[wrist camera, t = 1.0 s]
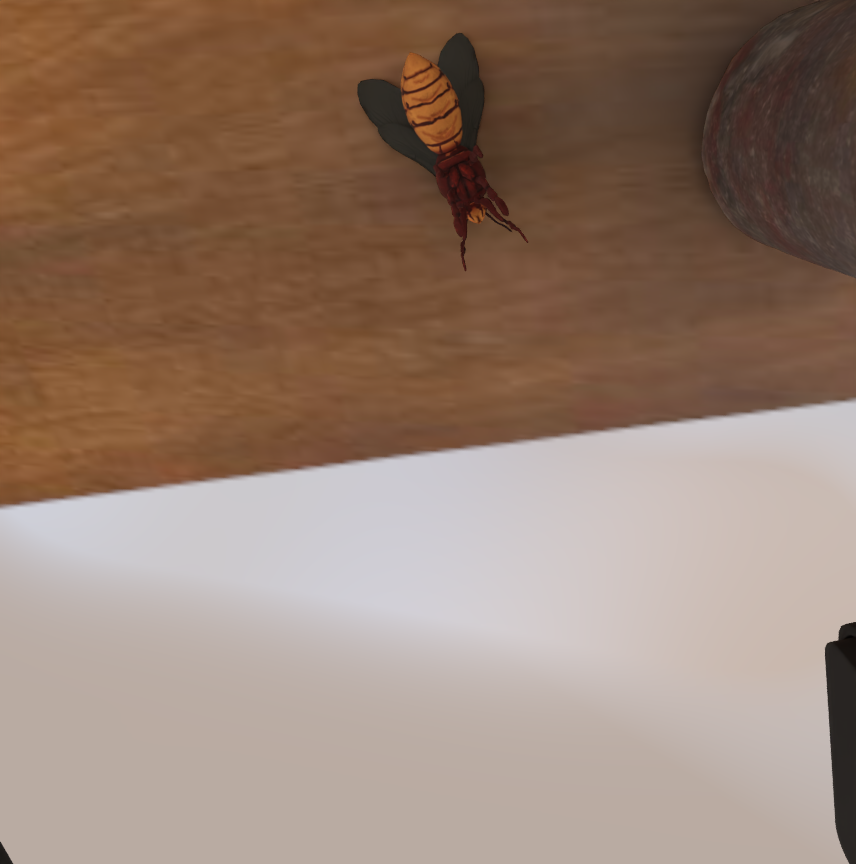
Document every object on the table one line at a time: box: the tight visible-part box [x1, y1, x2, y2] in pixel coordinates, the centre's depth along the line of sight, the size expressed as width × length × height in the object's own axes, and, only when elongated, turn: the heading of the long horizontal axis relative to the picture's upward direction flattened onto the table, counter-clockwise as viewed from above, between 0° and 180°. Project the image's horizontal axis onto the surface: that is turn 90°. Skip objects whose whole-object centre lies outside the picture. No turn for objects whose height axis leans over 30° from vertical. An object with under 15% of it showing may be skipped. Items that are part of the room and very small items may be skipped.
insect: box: [357, 33, 528, 271], centre depth 24 cm, size 4×6×5 cm, turn 24°
